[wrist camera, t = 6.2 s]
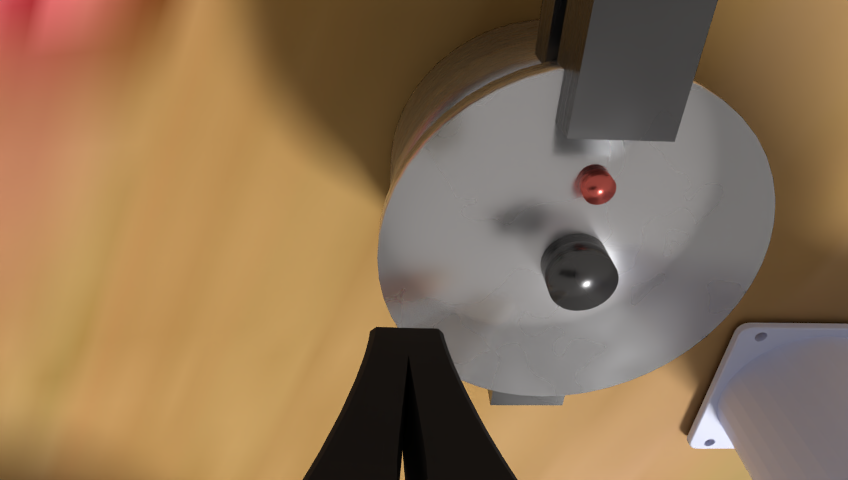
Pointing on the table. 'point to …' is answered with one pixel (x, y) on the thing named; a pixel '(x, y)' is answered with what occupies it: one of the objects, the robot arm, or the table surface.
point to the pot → (465, 76)
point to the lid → (581, 209)
